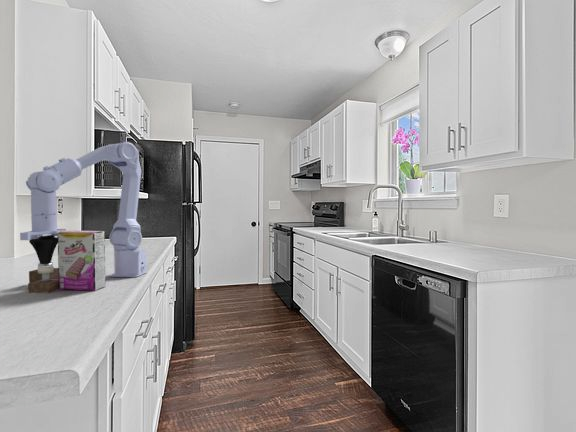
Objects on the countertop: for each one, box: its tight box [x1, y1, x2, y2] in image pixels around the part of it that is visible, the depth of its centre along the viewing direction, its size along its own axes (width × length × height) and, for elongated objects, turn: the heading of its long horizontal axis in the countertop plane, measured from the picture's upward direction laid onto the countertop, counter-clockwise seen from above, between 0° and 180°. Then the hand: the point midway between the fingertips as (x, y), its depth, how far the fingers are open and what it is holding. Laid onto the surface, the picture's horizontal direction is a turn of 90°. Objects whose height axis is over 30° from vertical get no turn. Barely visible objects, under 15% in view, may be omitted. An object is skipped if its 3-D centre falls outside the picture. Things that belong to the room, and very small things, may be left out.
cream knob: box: [37, 265, 54, 282], centre depth 95 cm, size 4×4×4 cm
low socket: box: [27, 279, 59, 294], centre depth 95 cm, size 6×6×2 cm
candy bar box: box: [57, 229, 106, 292], centre depth 97 cm, size 11×5×16 cm, turn 84°
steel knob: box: [37, 261, 54, 268], centre depth 102 cm, size 4×4×6 cm
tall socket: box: [28, 267, 59, 283], centre depth 102 cm, size 6×6×4 cm
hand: (45, 263), depth 95 cm, fingers closed
